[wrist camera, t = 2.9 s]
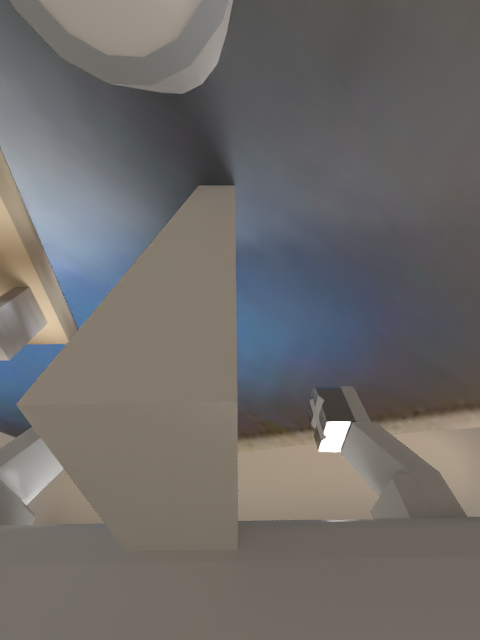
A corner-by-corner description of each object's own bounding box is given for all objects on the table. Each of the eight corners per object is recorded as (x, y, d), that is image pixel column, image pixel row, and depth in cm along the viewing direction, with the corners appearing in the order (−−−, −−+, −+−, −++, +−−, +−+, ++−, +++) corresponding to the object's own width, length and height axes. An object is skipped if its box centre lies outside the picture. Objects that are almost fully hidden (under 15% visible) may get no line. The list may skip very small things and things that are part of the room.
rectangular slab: (182, 185, 16) (-87, 405, 3) (235, 185, 16) (237, 402, 3) (199, 340, 23) (148, 620, 9) (236, 340, 23) (238, 618, 9)
